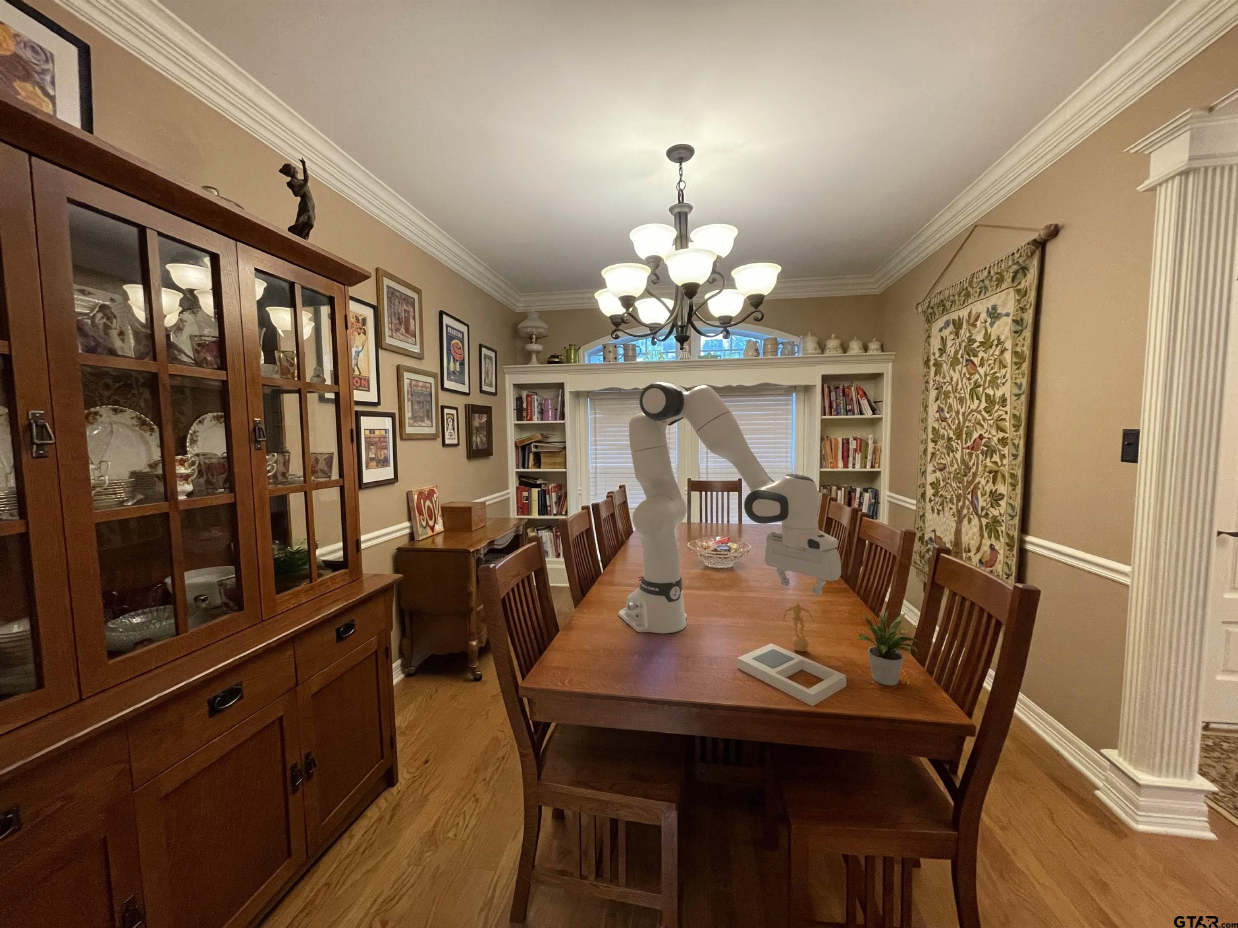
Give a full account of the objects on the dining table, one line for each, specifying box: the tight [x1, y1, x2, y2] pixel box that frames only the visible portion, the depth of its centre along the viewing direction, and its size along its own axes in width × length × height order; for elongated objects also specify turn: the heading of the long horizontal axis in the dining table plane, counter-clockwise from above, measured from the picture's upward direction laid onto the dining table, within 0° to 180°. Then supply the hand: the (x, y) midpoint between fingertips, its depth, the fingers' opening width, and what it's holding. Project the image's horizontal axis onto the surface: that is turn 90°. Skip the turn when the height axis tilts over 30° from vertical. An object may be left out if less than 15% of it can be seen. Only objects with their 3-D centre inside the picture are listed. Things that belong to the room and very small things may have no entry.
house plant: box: [846, 609, 922, 686], centre depth 106 cm, size 14×14×16 cm
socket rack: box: [736, 643, 847, 707], centre depth 109 cm, size 20×13×3 cm, turn 35°
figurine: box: [782, 602, 815, 653], centre depth 122 cm, size 8×6×12 cm
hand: (800, 589), depth 122 cm, fingers open, 8 cm apart
